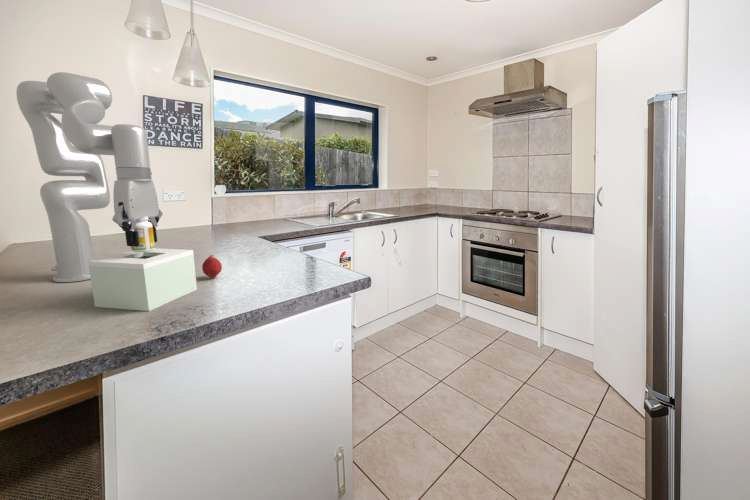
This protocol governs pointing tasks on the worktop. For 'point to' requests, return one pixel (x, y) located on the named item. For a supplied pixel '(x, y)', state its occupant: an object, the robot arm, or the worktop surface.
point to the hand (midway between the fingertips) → (142, 243)
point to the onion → (211, 267)
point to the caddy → (142, 278)
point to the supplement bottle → (144, 236)
